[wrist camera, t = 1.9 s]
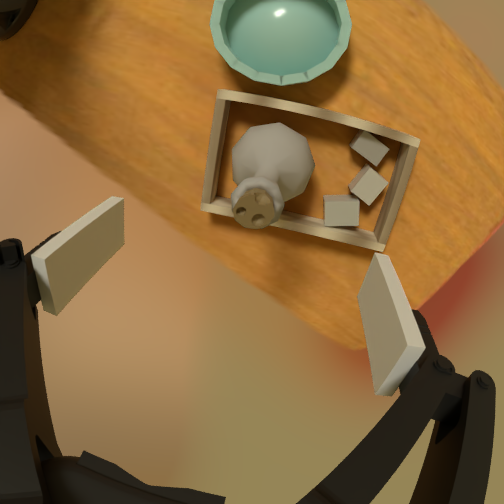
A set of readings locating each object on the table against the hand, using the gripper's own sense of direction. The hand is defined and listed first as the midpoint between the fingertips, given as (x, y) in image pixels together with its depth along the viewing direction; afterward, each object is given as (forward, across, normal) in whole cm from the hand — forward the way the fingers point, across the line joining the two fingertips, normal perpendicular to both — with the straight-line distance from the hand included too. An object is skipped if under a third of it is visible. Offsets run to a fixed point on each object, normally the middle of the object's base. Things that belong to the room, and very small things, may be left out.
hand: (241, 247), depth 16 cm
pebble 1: (+23, +10, +4) cm, 25 cm away
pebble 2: (+23, +11, 0) cm, 25 cm away
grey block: (+23, +9, -4) cm, 25 cm away
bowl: (+23, -2, +15) cm, 28 cm away
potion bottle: (+23, 0, 0) cm, 23 cm away
